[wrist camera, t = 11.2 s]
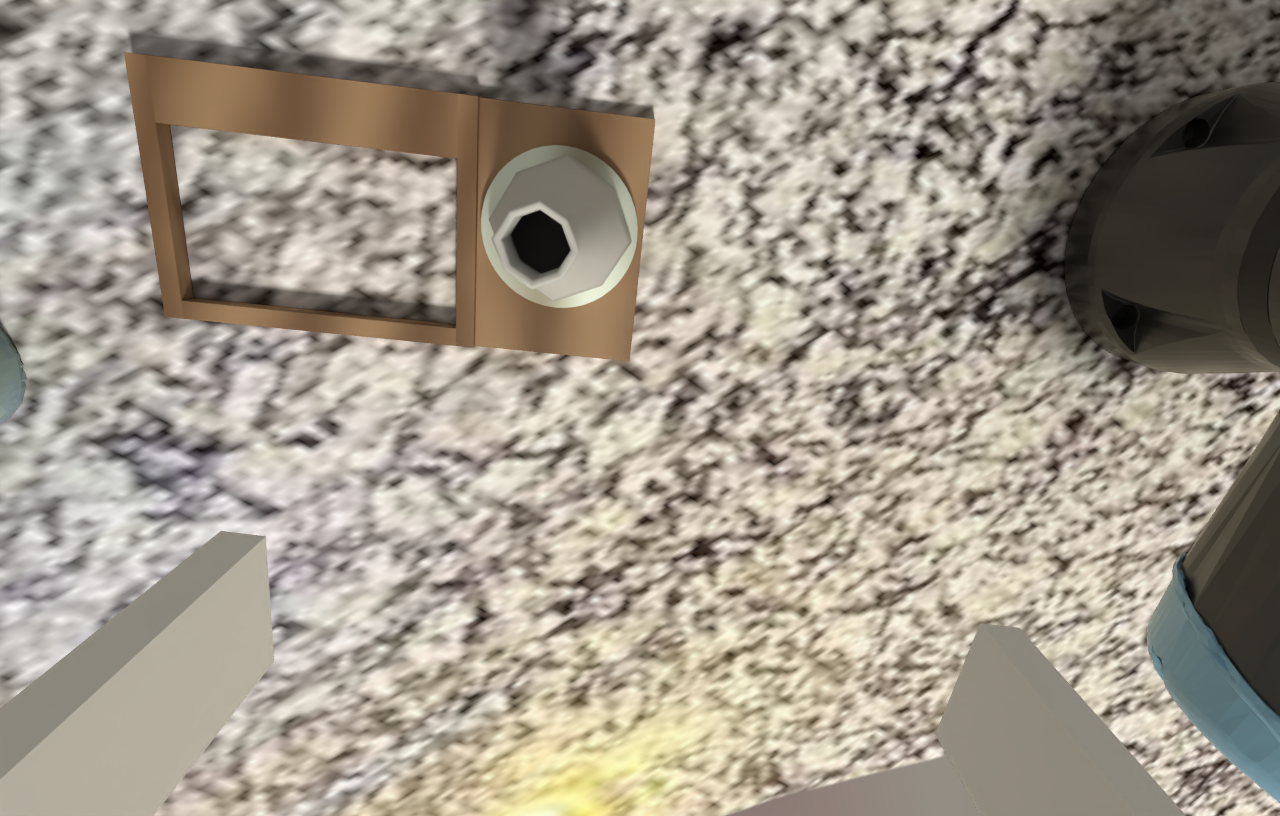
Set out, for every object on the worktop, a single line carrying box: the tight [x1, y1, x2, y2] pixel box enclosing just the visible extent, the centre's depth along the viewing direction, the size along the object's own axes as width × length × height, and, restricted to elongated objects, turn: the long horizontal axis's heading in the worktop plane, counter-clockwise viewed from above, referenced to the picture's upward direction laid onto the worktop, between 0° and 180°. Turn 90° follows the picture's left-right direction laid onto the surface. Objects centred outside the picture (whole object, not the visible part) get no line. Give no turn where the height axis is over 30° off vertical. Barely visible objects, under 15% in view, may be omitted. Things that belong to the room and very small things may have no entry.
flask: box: [488, 154, 632, 302], centre depth 28 cm, size 7×7×10 cm
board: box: [124, 52, 655, 361], centre depth 32 cm, size 26×13×1 cm, turn 84°
